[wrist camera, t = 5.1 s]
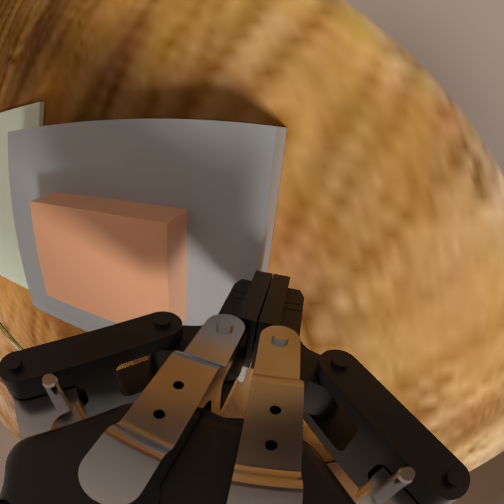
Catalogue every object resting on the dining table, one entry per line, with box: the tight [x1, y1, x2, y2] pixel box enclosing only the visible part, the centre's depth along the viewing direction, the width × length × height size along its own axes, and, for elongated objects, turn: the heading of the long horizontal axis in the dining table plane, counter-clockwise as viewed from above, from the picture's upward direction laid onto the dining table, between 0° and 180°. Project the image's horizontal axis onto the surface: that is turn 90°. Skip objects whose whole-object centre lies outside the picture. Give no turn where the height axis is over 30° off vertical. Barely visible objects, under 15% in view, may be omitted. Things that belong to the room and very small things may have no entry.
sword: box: [0, 324, 23, 351], centre depth 32 cm, size 25×4×1 cm, turn 56°
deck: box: [8, 119, 287, 382], centre depth 17 cm, size 18×14×4 cm
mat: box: [0, 102, 45, 289], centre depth 21 cm, size 16×18×1 cm
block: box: [30, 192, 188, 324], centre depth 14 cm, size 9×6×2 cm, turn 84°
